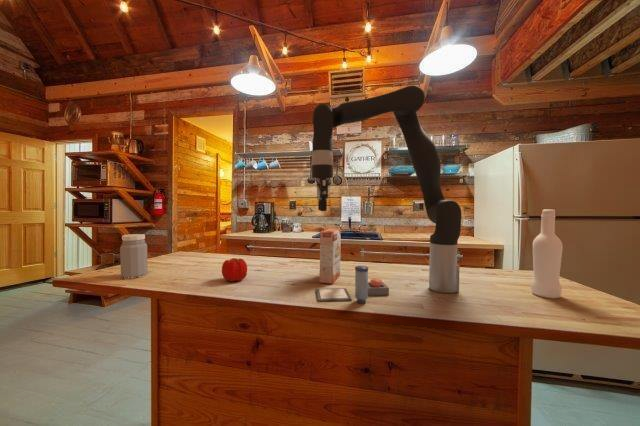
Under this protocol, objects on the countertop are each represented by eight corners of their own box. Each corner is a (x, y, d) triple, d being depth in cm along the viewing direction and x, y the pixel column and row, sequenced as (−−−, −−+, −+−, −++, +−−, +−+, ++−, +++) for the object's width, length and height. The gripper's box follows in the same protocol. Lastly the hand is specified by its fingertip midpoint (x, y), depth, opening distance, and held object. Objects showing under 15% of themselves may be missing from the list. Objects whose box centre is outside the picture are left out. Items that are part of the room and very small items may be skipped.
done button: (379, 285, 96) (379, 278, 96) (383, 288, 92) (383, 281, 92) (369, 285, 95) (369, 278, 95) (372, 289, 91) (372, 282, 91)
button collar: (382, 288, 97) (382, 281, 97) (388, 295, 90) (388, 288, 90) (364, 288, 97) (364, 282, 97) (369, 295, 90) (369, 288, 90)
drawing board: (345, 289, 96) (345, 287, 96) (351, 300, 85) (351, 298, 85) (316, 290, 95) (316, 288, 95) (318, 301, 84) (318, 299, 84)
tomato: (228, 276, 113) (228, 256, 113) (252, 277, 112) (252, 257, 112) (215, 283, 103) (215, 261, 103) (241, 284, 102) (241, 262, 101)
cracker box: (333, 284, 102) (333, 231, 101) (319, 283, 104) (319, 231, 103) (341, 275, 115) (341, 228, 114) (328, 274, 117) (328, 227, 116)
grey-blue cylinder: (366, 299, 86) (366, 265, 86) (369, 304, 82) (369, 268, 82) (353, 299, 86) (353, 265, 86) (356, 304, 82) (356, 269, 81)
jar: (114, 278, 109) (113, 236, 108) (134, 272, 119) (133, 233, 118) (134, 279, 108) (133, 236, 107) (153, 273, 117) (152, 233, 117)
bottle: (532, 289, 97) (534, 209, 95) (561, 295, 91) (565, 209, 90) (529, 294, 91) (531, 209, 90) (560, 301, 85) (563, 209, 84)
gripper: (335, 161, 84) (335, 211, 85) (330, 167, 99) (330, 210, 99) (312, 161, 84) (312, 211, 85) (310, 167, 98) (310, 210, 99)
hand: (322, 210), depth 92 cm, fingers open, 8 cm apart
